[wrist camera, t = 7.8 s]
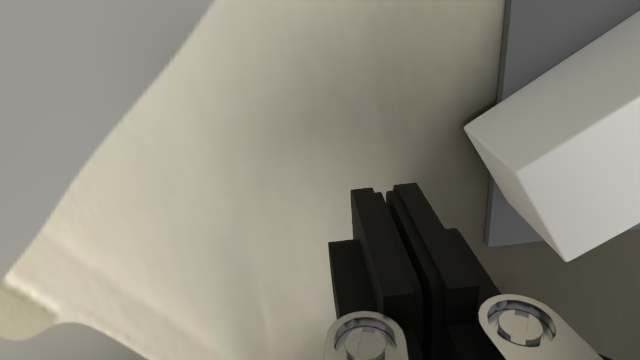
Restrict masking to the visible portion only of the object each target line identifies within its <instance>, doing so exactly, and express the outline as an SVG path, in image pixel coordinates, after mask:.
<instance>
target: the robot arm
mask: <svg viewBox="0 0 640 360" xmlns="http://www.w3.org/2000/svg"><path fill="white" fill-rule="evenodd" d="M351 208H352V224H353V240H345V241H336V242H328V247H329V258H330V268H331V278H332V286H333V294H334V302H335V309H336V316H337V321H335V322H334V323H333V324H332V326H331V327H330V329H329V330H328V332H327V335H326V339H325V347H324V358H323V360H612V359H610V358H607V357H605V356H603V355H600V354H598V353H596V352H595V351H594V350H593V349H592V348H591V347H590V346H589V345H588V344H587V343H586V342H585V341H584V340H583V339H582V338H581V337H580V336H579V335H578V334H577V333H576V332H575V331H574V330H573V329H572V328H571V327H570V326H569V325H568V324H567V323H566V322H565V321H564V320H563V319H562V318H561V317H560V316H559V315H558V314H557V313H555V312H554V311H553V310H552V309H550V308H549V307H548V306H546V305H545V304H543V303H541V302H539V301H537V300H535V299H532V298H528V297H525V296H521V295H512V294H506V295H501V294H500V292H499V291H498V289H497V288H496V286H495V285H494V283H493V282H492V280H491V279H490V277H489V276H488V274H487V273H486V271H485V270H484V268H483V267H482V265H481V264H480V262H479V261H478V259H477V258H476V256H475V255H474V253H473V252H472V250H471V248H470V247H469V245H468V244H467V242H466V241H465V239H464V238H463V236H462V235H461V233H460V232H459V231H458V230H457V229H455V228H451V229H445V228H444V227H443V225H442V224H441V222H440V220H439V219H438V217H437V215H436V214H435V212H434V211H433V209H432V207H431V206H430V204H429V202H428V201H427V199H426V198H425V196H424V194H423V193H422V191H421V189H420V188H419V186H418V185H417V183H408V184H399V185H394V187H393V191H387V192H386V202H385V200H384V198H383V195H382V193H381V192H377V193H374V190H373V188H363V189H354V190H351Z"/></svg>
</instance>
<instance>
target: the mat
mask: <svg viewBox="0 0 640 360" xmlns="http://www.w3.org/2000/svg"><path fill="white" fill-rule="evenodd" d="M639 10H640V0H506V5H505V17H504V28H503V39H502V50H501V61H500V72H499V83H498V94H497V104H499V103H500V102H502V101H503V100H505V99H506V98H508V97H509V96H511V95H512V94H514V93H515V92H517V91H518V90H520V89H521V88H523V87H524V86H526V85H527V84H529V83H530V82H532V81H533V80H535V79H536V78H538V77H539V76H541V75H543V74H544V73H546V72H547V71H549V70H550V69H552V68H553V67H555V66H556V65H558V64H559V63H561V62H562V61H564V60H565V59H567V58H568V57H570V56H571V55H573V54H574V53H576V52H577V51H579V50H580V49H582V48H583V47H585V46H586V45H588V44H589V43H591V42H592V41H594V40H596V39H597V38H599V37H600V36H602V35H603V34H605V33H606V32H608V31H609V30H611V29H612V28H614V27H615V26H617V25H618V24H620V23H621V22H623V21H624V20H626V19H627V18H629V17H630V16H632V15H633V14H635V13H636V12H638V11H639ZM638 229H640V223H638V224H637V225H635V226H633V227H631V228H629V229H627V230H626V231H629V230H638ZM538 241H545V240H544V239H543V238H542V237H541V236H540V235H539V234H538V233H537V232H536V231H535V230H534V229H533V228H532V227H531V225H530V224H529V223H528V222H527V221H526V220H525V219H524V218H523V217H522V216H521V215H520V214H519V213H518V212H517V211H516V210H515V209H514V208H513V207H512V206H511V205H510V204H509V203H508V201H507V200H506V198H505V197H504V195H503V193H502V192H501V190H500V188H499V187H498V185H497V183H496V182H495V180H494V178H493V177H492V175H491V173H490V182H489V193H488V204H487V215H486V226H485V237H484V243H485V244H486V246H487V247H488V248H489V247H497V246H505V245H514V244H522V243H530V242H538Z"/></svg>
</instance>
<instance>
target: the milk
mask: <svg viewBox="0 0 640 360" xmlns="http://www.w3.org/2000/svg"><path fill="white" fill-rule="evenodd" d="M464 130H465V132H466V133H467V135H468V137H469V138H470V140H471V142H472V143H473V145H474V147H475V148H476V150H477V152H478V153H479V155H480V157H481V158H482V160H483V162H484V163H485V165H486V167H487V168H488V170H489V172H490V173H491V175H492V177H493V178H494V180H495V182H496V183H497V185H498V187H499V188H500V190H501V192H502V193H503V195H504V197H505V198H506V200H507V201H508V203H509V204H510V205H511V206H512V207H513V208H514V209H515V210H516V211H517V212H518V213H519V214H520V215H521V216H522V217H523V218H524V219H525V220H526V221H527V222H528V223H529V224H530V225H531V227H532V228H533V229H534V230H535V231H536V232H537V233H538V234H539V235H540V236H541V237H542V238H543V239H544V240H545V241H546V242H547V243H548V244H549V245H550V246H551V247H552V248H553V249H554V250H555V251H556V252H557V253H558V255H559V256H560V257H561V258H562V259H563V260H564V261H566V262H568V261H571V260H573V259H575V258H576V257H578V256H580V255H582V254H584V253H586V252H587V251H589V250H591V249H593V248H595V247H596V246H598V245H600V244H602V243H604V242H606V241H607V240H609V239H611V238H613V237H615V236H617V235H618V234H620V233H622V232H624V231H626V230H627V229H629V228H631V227H633V226H635V225H637V224H638V223H640V10H639V11H638V12H636V13H635V14H633V15H632V16H630V17H629V18H627V19H626V20H624V21H623V22H621V23H620V24H618V25H617V26H615V27H614V28H612V29H611V30H609V31H608V32H606V33H605V34H603V35H602V36H600V37H599V38H597V39H596V40H594V41H592V42H591V43H589V44H588V45H586V46H585V47H583V48H582V49H580V50H579V51H577V52H576V53H574V54H573V55H571V56H570V57H568V58H567V59H565V60H564V61H562V62H561V63H559V64H558V65H556V66H555V67H553V68H552V69H550V70H549V71H547V72H546V73H544V74H543V75H541V76H539V77H538V78H536V79H535V80H533V81H532V82H530V83H529V84H527V85H526V86H524V87H523V88H521V89H520V90H518V91H517V92H515V93H514V94H512V95H511V96H509V97H508V98H506V99H505V100H503V101H502V102H500V103H499V104H497V105H496V106H494V107H493V108H491V109H490V110H488V111H486V112H485V113H483V114H482V115H480V116H479V117H477V118H476V119H474V120H473V121H471V122H470V123H468V124H467V125H466V126H464Z"/></svg>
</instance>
